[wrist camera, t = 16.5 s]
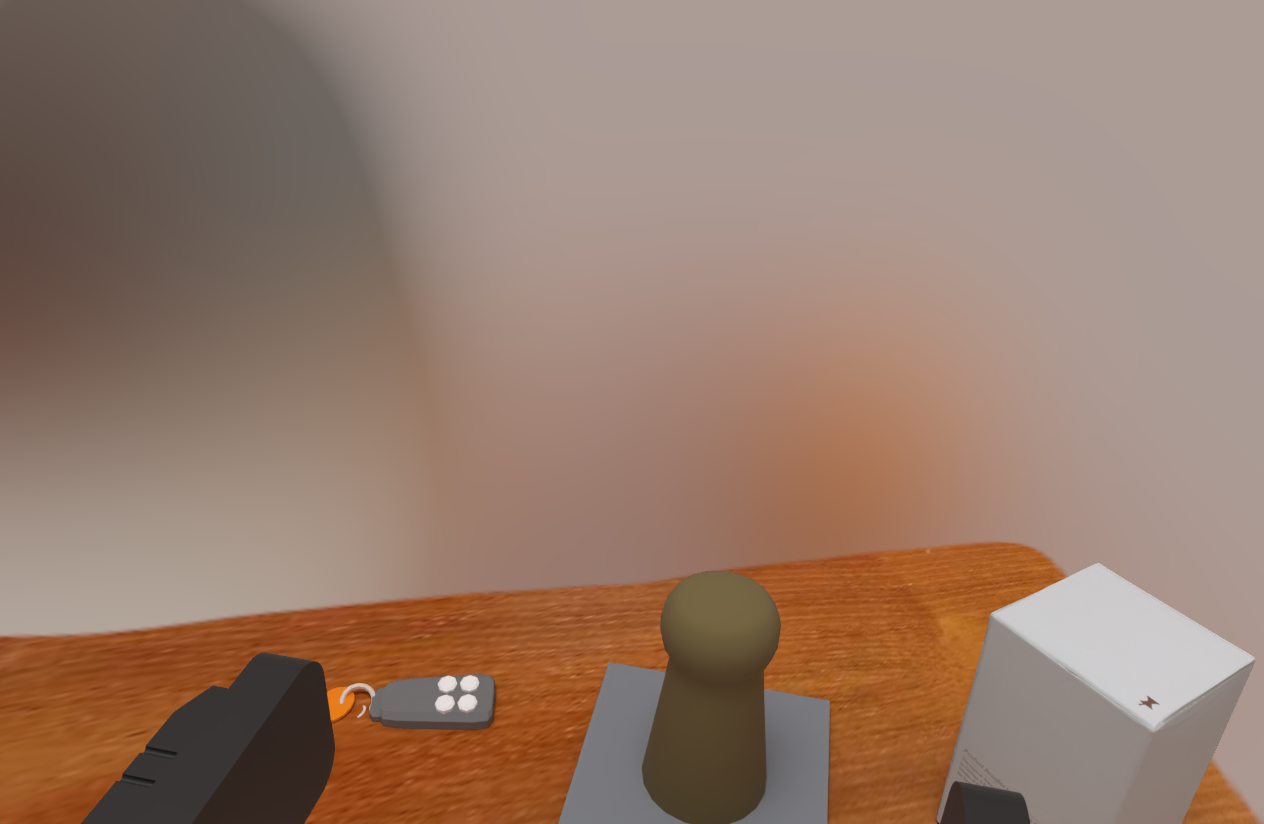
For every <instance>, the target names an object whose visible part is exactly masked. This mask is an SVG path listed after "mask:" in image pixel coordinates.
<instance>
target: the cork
mask: <svg viewBox="0 0 1264 824" xmlns="http://www.w3.org/2000/svg"><path fill="white" fill-rule="evenodd" d="M660 627H661V633H662V639H663V643H664V647H665V650H666V652H667V653H668V655H669V656H670V657H669V661H668V665H667V669H666V673H665V677H664V681H663V685H662V689H661V693H660V697H659V701H658V705H657V709H656V713H655V717H654V721H653V725H652V728H651V732H650V736H649V740H648V744H647V748H646V752H645V756H644V760H643V764H642V776H643V783H644V786H645V788H646V790H647V791H648V793H649V795H650V797H651V799H652V800H653V801H654V802H655V803H656V804H657V805H658V806H659V807H660V808H661V809H662V810H663V811H664V812H665V813H667V814H669V815H671V816H673V817H675V818H677V819H678V820H680V821H682V822H685V823H689V824H731V823H733V822H736V821H739V820H742V819H744V818H745V817H746V816H747V815H748V814H750V813H751V812H752V811H753V810H755V809H756V808H757V806H758V805H759V803H760V801H761V799H762V798H763V796H764V794H765V788H766V780H767V771H766V737H765V703H764V669H765V668H766V667H767V665H768V664H769V662H770V661H771V659H772V658H773V656H774V654H775V652H776V650H777V648H778V642H779V636H780V628H781V624H780V617H779V613H778V611H777V608H776V605H775V603H774V601H773V599H772V598H771V596H770V595H769V594H768V593H767V591H766V590H765V589H764V588H763V587H762V586H761V585H759V584H758V583H756V582H755V581H753V580H752V579H750V578H747V577H745V576H742V575H740V574H737V573H731V572H725V571H706V572H702V573H698V574H694V575H692V576H690V577H688V578H686V579H684V580H683V581H681V582H680V583H679V584H678V585H677V586H676V587H675V589H674V590H673V591H672V592H671V593H670V594H669V595H668V597H667V600H666V602H665V605H664V608H663V611H662V615H661V626H660Z"/></svg>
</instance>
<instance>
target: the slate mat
mask: <svg viewBox="0 0 1264 824" xmlns="http://www.w3.org/2000/svg"><path fill="white" fill-rule="evenodd" d="M665 673H666V672H662V671H657V670H651V669H645V668H639V667H634V666H628V665H622V664H616V663H611V662H609V664H608V667H607V670H606V674H605V677H604V680H603V683H602V686H601V689H600V693H599V696H598V699H597V702H596V705H595V709H594V712H593V715H592V718H591V721H590V724H589V728H588V731H587V734H586V737H585V740H584V744H583V747H582V750H581V753H580V756H579V759H578V763H577V766H576V769H575V772H574V775H573V778H572V782H571V785H570V788H569V791H568V794H567V798H566V801H565V804H564V807H563V810H562V813H561V817H560V820H559V823H558V824H689V823H685V822H682V821H680V820H678V819H677V818H675V817H673V816H671V815H669V814H667V813H665V812H664V811H663V810H662V809H661V808H660V807H659V806H658V805H657V804H656V803H655V802H654V801H653V800H652V799H651V797H650V795H649V793H648V791H647V790H646V788H645V786H644V783H643V776H642V764H643V760H644V756H645V752H646V748H647V744H648V740H649V736H650V732H651V728H652V725H653V721H654V717H655V713H656V709H657V705H658V701H659V697H660V693H661V689H662V685H663V681H664V677H665ZM764 703H765V737H766V771H767V780H766V788H765V794H764V796H763V798H762V799H761V801H760V803H759V805H758V806H757V808H756V809H755V810H753V811H752V812H751V813H750V814H748V815H747V816H746V817H745V818H744V819H742V820H739V821H736V822H733V823H731V824H827V814H828V767H829V720H830V701H829V700H824V699H818V698H812V697H806V696H800V695H795V694H789V693H783V692H777V691H772V690H766V689H764Z"/></svg>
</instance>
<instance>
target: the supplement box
mask: <svg viewBox="0 0 1264 824" xmlns="http://www.w3.org/2000/svg"><path fill="white" fill-rule="evenodd" d="M1254 663H1255V658H1254V657H1253V656H1251V655H1250V654H1248V653H1246V652H1245V651H1243V650H1241V649H1240V648H1238V647H1236V646H1235V645H1233V644H1231V643H1229V642H1228V641H1226V640H1224V639H1223V638H1221V637H1219V636H1218V635H1216V634H1214V633H1212V632H1211V631H1209V630H1208V629H1206V628H1204V627H1203V626H1201V625H1199V624H1198V623H1196V622H1194V621H1193V620H1191V619H1189V618H1188V617H1186V616H1184V615H1183V614H1181V613H1180V612H1178V611H1176V610H1174V609H1173V608H1171V607H1169V606H1168V605H1166V604H1165V603H1163V602H1161V601H1160V600H1158V599H1156V598H1155V597H1153V596H1151V595H1150V594H1148V593H1146V592H1145V591H1143V590H1141V589H1140V588H1138V587H1136V586H1135V585H1133V584H1131V583H1130V582H1128V581H1127V580H1125V579H1123V578H1122V577H1120V576H1119V575H1117V574H1115V573H1114V572H1112V571H1111V570H1109V569H1107V568H1105V567H1104V566H1102V565H1101V564H1099V563H1096V564H1094V565H1092V566H1090V567H1088V568H1085V569H1083V570H1082V571H1079V572H1077V573H1075V574H1073V575H1071V576H1069V577H1067V578H1065V579H1063V580H1061V581H1059V582H1057V583H1055V584H1053V585H1051V586H1049V587H1047V588H1045V589H1043V590H1041V591H1039V592H1037V593H1034V594H1032V595H1030V596H1028V597H1025V598H1023V599H1021V600H1018V601H1016V602H1014V603H1012V604H1010V605H1007V606H1005V607H1003V608H1001V609H999V610H996V611H994V612H992V613H991V614H990V618H989V623H988V627H987V632H986V636H985V640H984V644H983V648H982V652H981V655H980V659H979V663H978V666H977V670H976V674H975V677H974V681H973V685H972V688H971V692H970V695H969V699H968V702H967V706H966V710H965V713H964V717H963V720H962V724H961V728H960V731H959V735H958V739H957V742H956V746H955V750H954V754H953V757H952V760H951V764H950V768H949V771H948V775H947V779H946V784H945V788H944V791H943V795H942V799H941V803H940V807H939V810H938V814H937V818H936V820H937V822H938V823H939V824H940V822H941V819H942V815H943V812H944V808H945V805H946V802H947V798H948V795H949V791H950V788H951V786H952V784H953V783H954V782H955V781H959V782H964V783H970V784H975V785H981V786H986V787H992V788H997V789H1003V790H1008V791H1014V792H1019V793H1021V794H1022V795H1023V797H1024V799H1025V802H1026V805H1027V809H1028V814H1029V819H1030V824H1182V822H1183V820H1184V818H1185V815H1186V813H1187V811H1188V809H1189V806H1190V804H1191V802H1192V800H1193V798H1194V795H1195V793H1196V791H1197V789H1198V787H1199V784H1200V782H1201V780H1202V778H1203V776H1204V773H1205V771H1206V769H1207V767H1208V765H1209V763H1210V761H1211V758H1212V756H1213V754H1214V752H1215V750H1216V748H1217V746H1218V743H1219V741H1220V739H1221V737H1222V734H1223V732H1224V730H1225V728H1226V726H1227V723H1228V721H1229V719H1230V717H1231V714H1232V712H1233V710H1234V708H1235V706H1236V703H1237V701H1238V699H1239V696H1240V694H1241V692H1242V690H1243V687H1244V685H1245V683H1246V681H1247V679H1248V677H1249V675H1250V672H1251V670H1252V668H1253V665H1254Z"/></svg>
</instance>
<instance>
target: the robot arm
mask: <svg viewBox="0 0 1264 824" xmlns="http://www.w3.org/2000/svg"><path fill="white" fill-rule="evenodd" d="M334 752H335V743H334V735H333V729H332V722H331V716H330V709H329V703H328V697H327V690H326V684H325V677H324V672H323V669H322V666H321V665H320V664H319V663H318V662H315V661H310V660H304V659H299V658H293V657H288V656H282V655H277V654H271V653H265V652H264V653H260V654H258V655H257V656H255V657H254V658H253V659H252V660H251V661H250V662H249V663H248V665H247V666H246V667H245V668H244V670H243V671H242V672H241V674H240V675H239V676H238V677H237V679H236V680H235V681H234V682H233V684H232V685H231V686H230V687H229V689H227V688H222V687H217V686H212V687H210V688H209V689H207V690H206V691H204V692H203V693H201V694H200V695H198V696H197V697H195V698H194V699H193V700H191V701H190V702H188V703H187V704H185V705H184V706H182V707H181V708H179V709H178V710H176V711H175V712H174V713H173V714H172V715H171V716H170V717H169V719H168V720H167V721H166V722H165V723H164V725H163V726H162V727H161V728H160V729H159V731H158V732H157V733H156V734H155V735H154V737H153V738H152V739H151V740H150V741H149V743H148V744H147V745H146V749H145V751H144V753H139V755H138V756H137V757H136V758H135V759H134V761H133V762H132V763H131V764H130V765H129V767H128V768H127V769H126V770H125V771H124V773H123V776H122V779H121V780H120V781H116V782H115V783H114V785H113V786H112V787H111V788H110V789H109V791H108V792H107V793H106V794H105V795H104V797H103V798H102V799H101V800H100V801H99V803H98V804H97V805H96V806H95V807H94V809H93V810H92V811H91V812H90V813H89V815H88V816H87V817H86V818H85V819H84V821H83V822H82V823H81V824H304V823H305V821H306V819H307V818H308V816H309V814H310V813H311V811H312V809H313V808H314V806H315V804H316V803H317V801H318V799H319V798H320V796H321V794H322V792H323V790H324V788H325V786H326V784H327V781H328V779H329V776H330V772H331V769H332V765H333V760H334ZM940 824H1030V819H1029V814H1028V809H1027V805H1026V802H1025V799H1024V797H1023V795H1022V794H1021V793H1019V792H1014V791H1008V790H1003V789H997V788H992V787H986V786H981V785H975V784H970V783H964V782H959V781H955V782H954V783H953V784H952V786H951V788H950V791H949V795H948V798H947V802H946V805H945V808H944V812H943V815H942V819H941V822H940Z"/></svg>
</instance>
